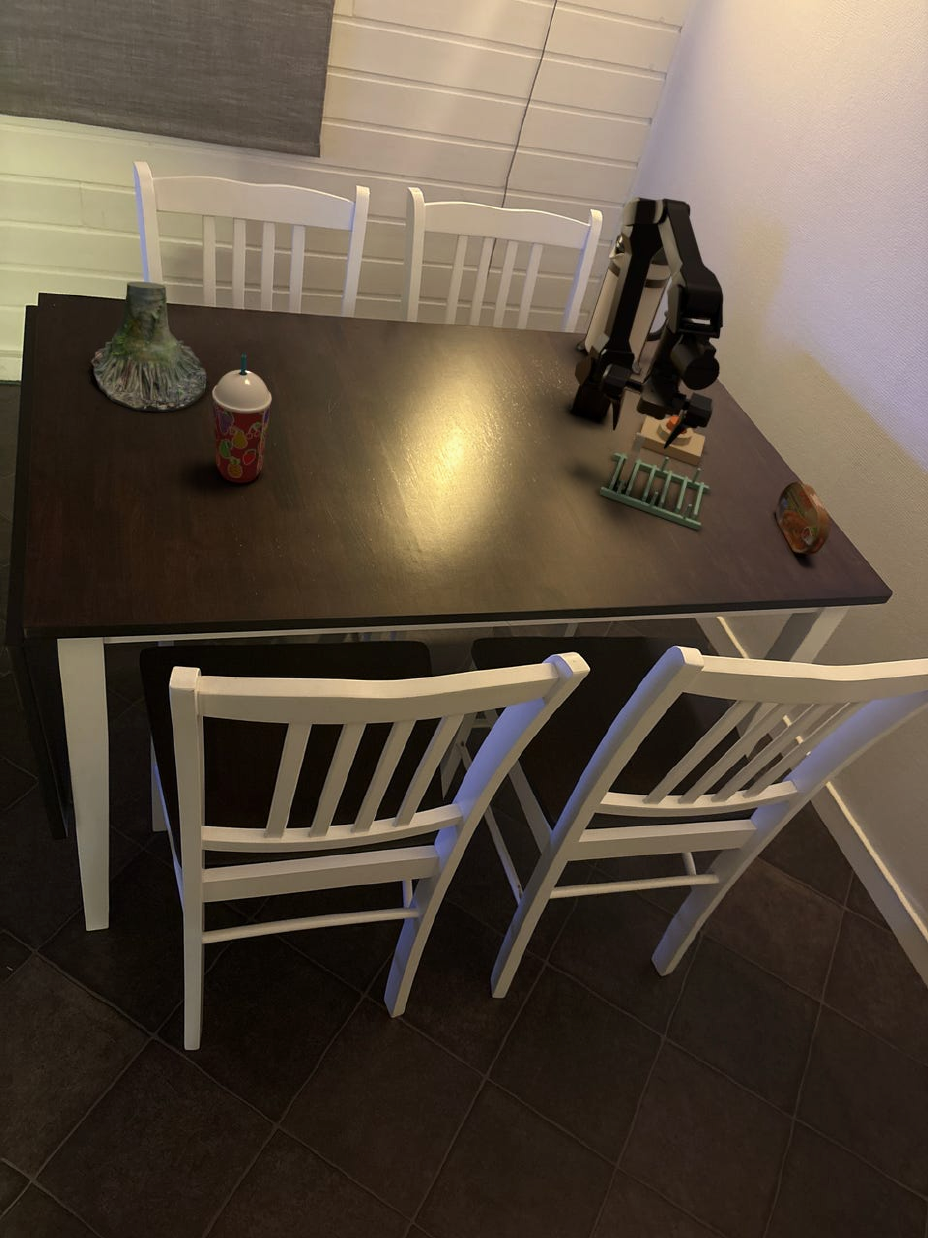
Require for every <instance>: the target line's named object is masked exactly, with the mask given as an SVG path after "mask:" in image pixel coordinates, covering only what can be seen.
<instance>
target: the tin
mask: <svg viewBox="0 0 928 1238" xmlns="http://www.w3.org/2000/svg"><path fill="white" fill-rule="evenodd" d="M775 516H776V521H777V523H778V526H779V528H780V529H781V532H782V533H783V536H784V537H785V539H786V542H787V543H788V545H789V547H790V549H791V550H792V552H794V553H796V554H803V555H814V554H817V553H818V552H819V551H820V550H821V549H822V548H823V546H824V545H825V544H826V542H827V540H828V538H829V536H830V532H831V518H830V515H829V513H828V511H827V509H826V508H825V507H824V505H823V502H822V501H821V500H820V497H819V496H818V494H817V493H816V491H815V489H814V488H813V487H812V486H811V485H808V484H804V483H801V482H799V481H792V482H790V483H789V484H787V485H786V486H785V487H784V489H783V490H782V491H781V494H780V496H779V497H778V501H777V505H776V509H775Z"/></svg>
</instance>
